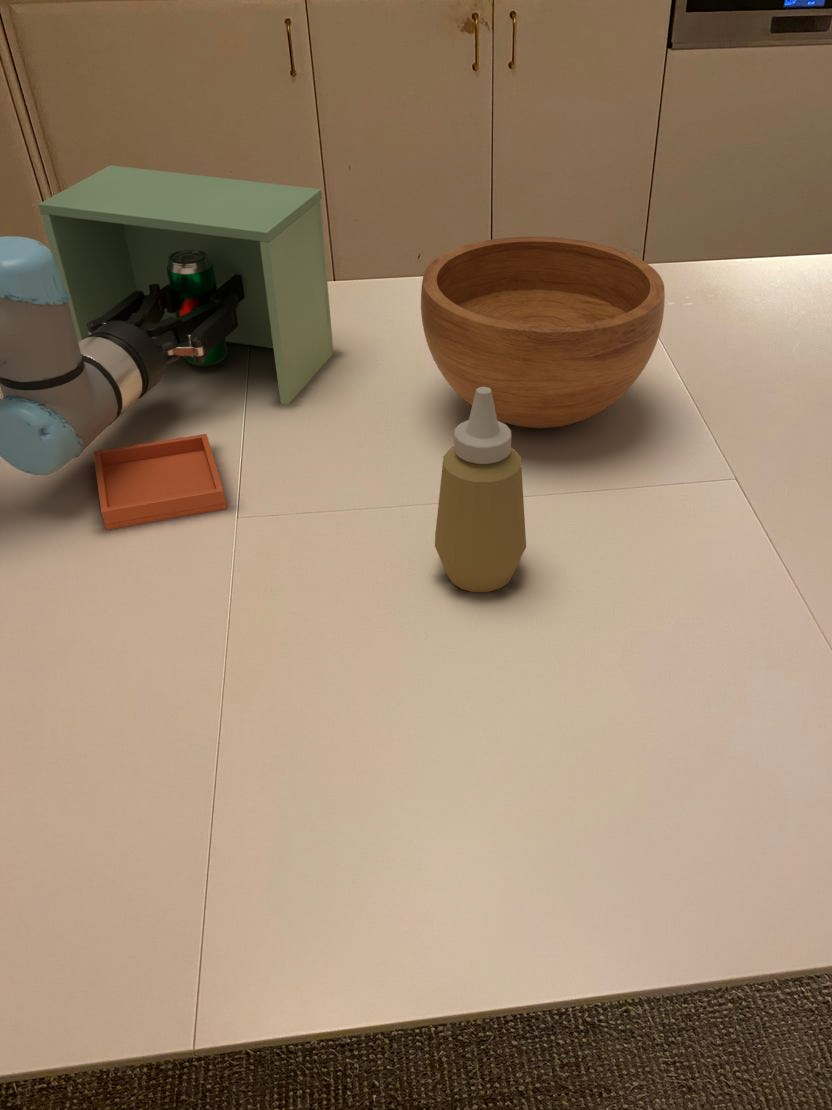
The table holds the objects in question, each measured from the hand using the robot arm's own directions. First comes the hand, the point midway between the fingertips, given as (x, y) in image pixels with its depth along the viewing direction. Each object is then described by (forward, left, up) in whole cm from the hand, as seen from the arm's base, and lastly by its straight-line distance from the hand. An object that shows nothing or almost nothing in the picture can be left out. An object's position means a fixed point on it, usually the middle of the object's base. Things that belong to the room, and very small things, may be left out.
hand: (217, 283), depth 116 cm
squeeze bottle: (+52, -16, -8) cm, 55 cm away
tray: (+19, -25, -8) cm, 33 cm away
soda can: (+2, -5, -7) cm, 9 cm away
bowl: (+39, +11, -8) cm, 41 cm away
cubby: (+2, -4, -8) cm, 9 cm away
